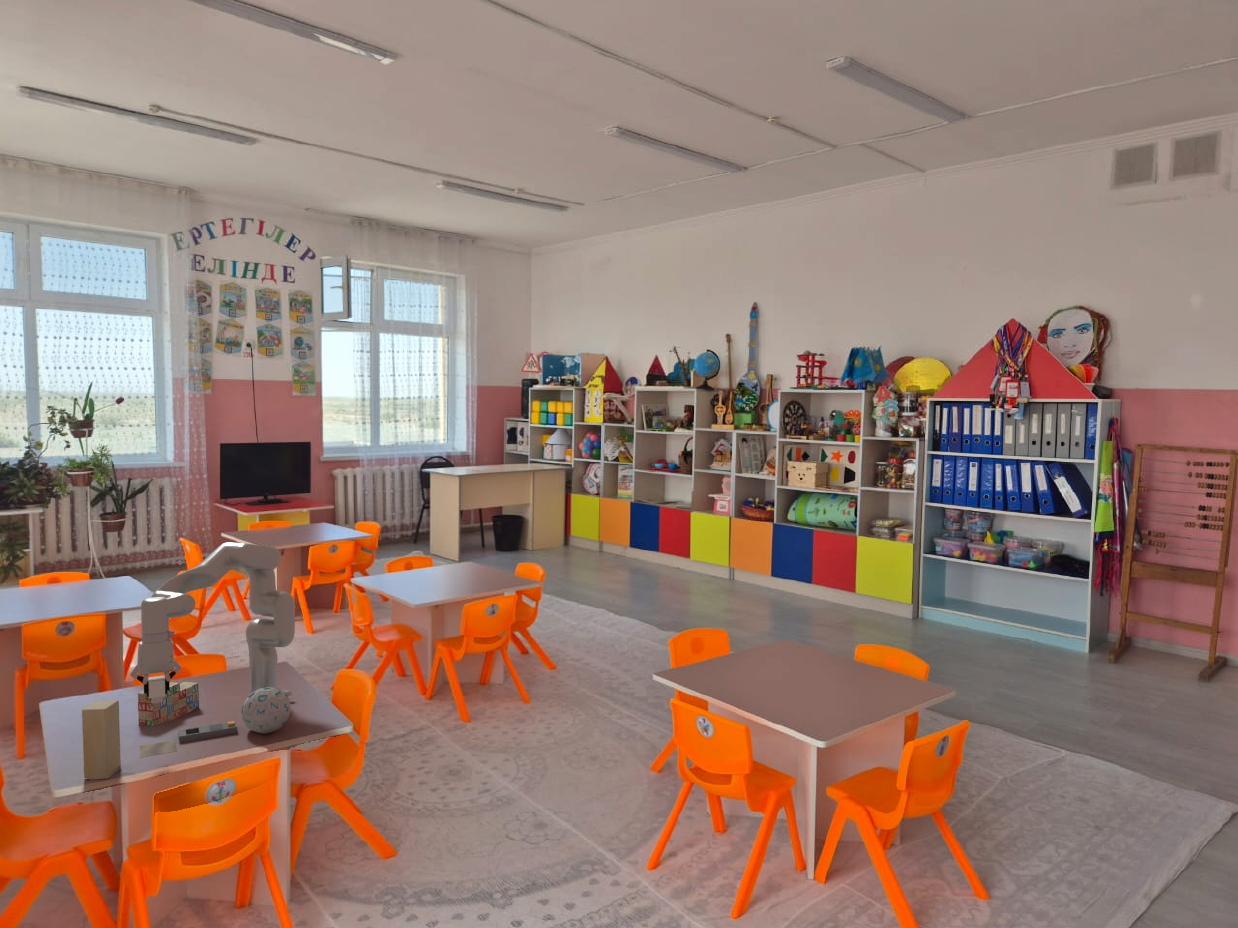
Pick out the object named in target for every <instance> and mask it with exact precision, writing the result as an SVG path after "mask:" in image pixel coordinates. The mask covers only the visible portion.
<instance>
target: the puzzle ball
mask: <svg viewBox="0 0 1238 928" xmlns="http://www.w3.org/2000/svg"><path fill="white" fill-rule="evenodd" d="M290 713H291V701H290V699H289V696H287V695H286V694H285V693H283V692H282V691H281V689H279V688H278V689H277V688H272V687H265V688H261V689H258V690H256V691H255V692H253V693H252V694H251V695H250V694H249V696H248V697H246V699H245V700H244V702H243V705H242V707H241V717H242V721H243V723H244V724H245V726H246V728H248V729H249V730H250V731H252V732H255V733H259V734H262V735H266V734H270V733H275V732H276V731H278V730H279V729H281V728H282V727H283V726H284V725H285V724H286V722H287V721H288V719H289V717H290Z"/></svg>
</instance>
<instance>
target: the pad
mask: <svg viewBox="0 0 1238 928" xmlns="http://www.w3.org/2000/svg"><path fill="white" fill-rule="evenodd" d="M174 752H178V750H177V742H176V740H175V739H174V740H167V741H162V742H155V743H150V744H145V745H140V746H139V759H140V758H145V757H146V758H147V757H152V756H156V755H157V756H158V755H163V754H169V753H174Z"/></svg>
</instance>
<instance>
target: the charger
mask: <svg viewBox="0 0 1238 928" xmlns="http://www.w3.org/2000/svg"><path fill="white" fill-rule="evenodd" d="M148 682H149V698H151V701H152V703H159V702H163V696H165V675H157V676H151V677H150V676H148Z"/></svg>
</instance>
